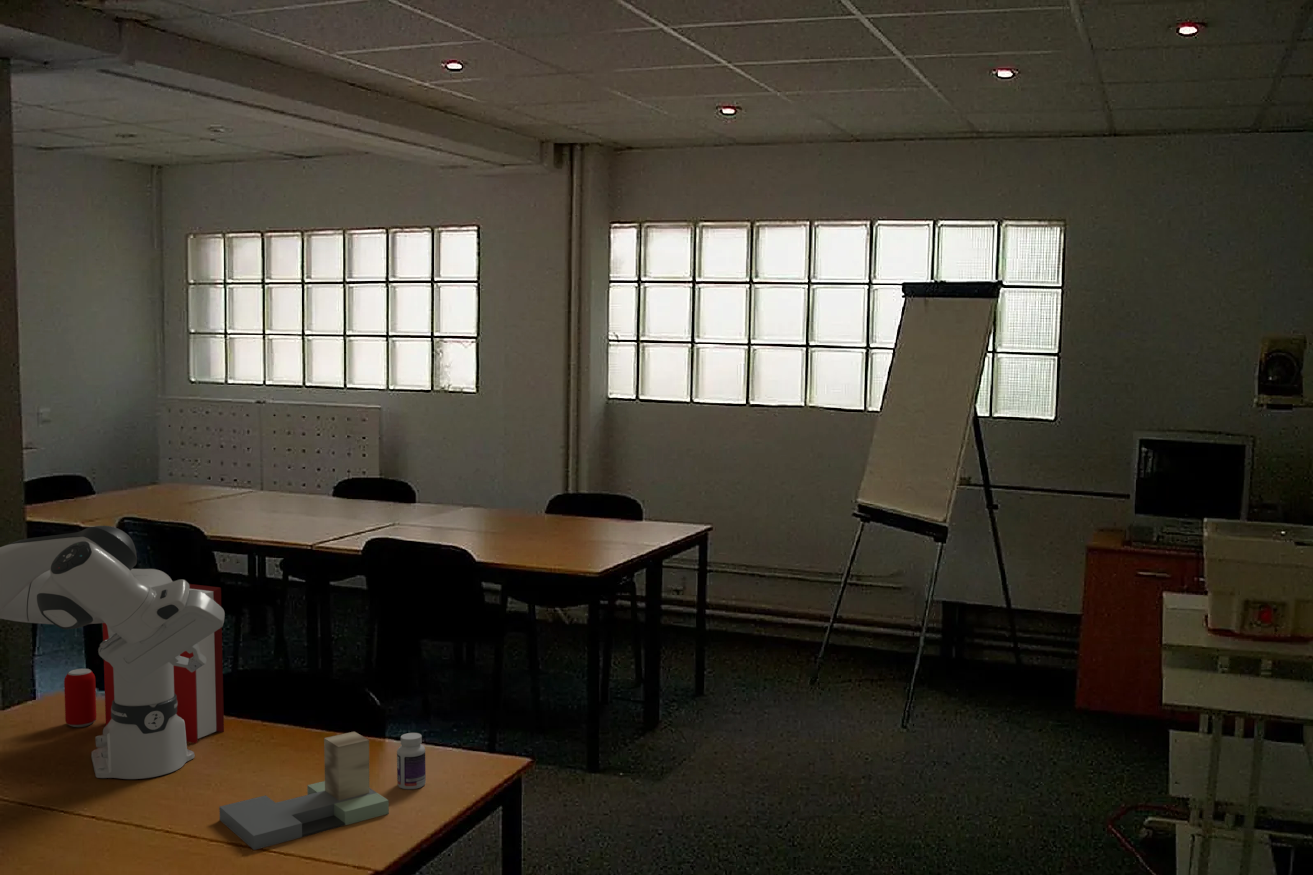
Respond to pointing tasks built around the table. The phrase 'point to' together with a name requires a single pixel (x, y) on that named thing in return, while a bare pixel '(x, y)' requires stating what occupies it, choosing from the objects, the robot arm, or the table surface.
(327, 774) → the birch block
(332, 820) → the board
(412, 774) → the pill bottle
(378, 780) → the table surface
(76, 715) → the beverage can
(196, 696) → the book
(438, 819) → the table surface
